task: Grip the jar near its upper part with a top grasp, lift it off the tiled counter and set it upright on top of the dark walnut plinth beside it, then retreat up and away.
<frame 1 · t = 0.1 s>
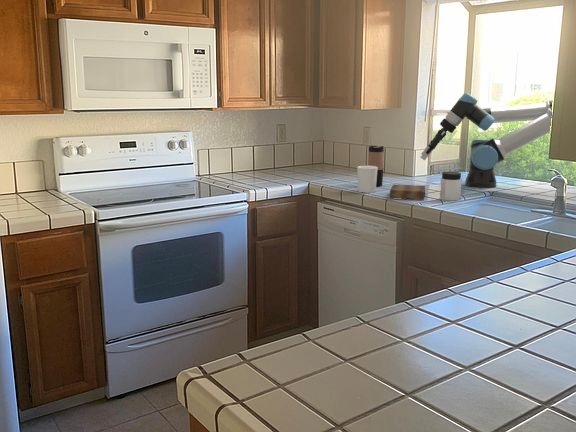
hand: (422, 157, 294), 15 cm above the counter, tool tilted 35°, fingers open, 13 cm apart
jar: (450, 199, 269), on the counter
travel mug: (375, 186, 303), on the counter
walnut plinth: (407, 196, 275), on the counter
candle holder: (366, 191, 288), on the counter
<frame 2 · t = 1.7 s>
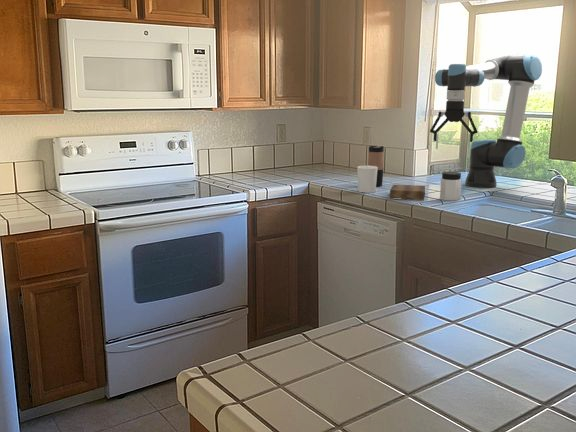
hand: (452, 149, 264), 23 cm above the counter, tool pointing down, fingers open, 13 cm apart
nothing on the counter moved.
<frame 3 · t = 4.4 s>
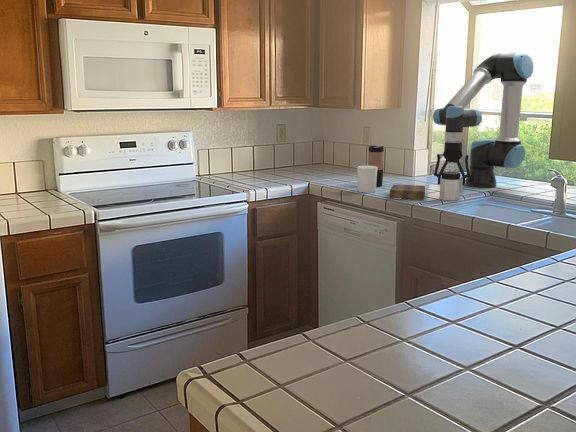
hand: (450, 191, 268), 3 cm above the counter, tool pointing down, fingers closed on jar, 8 cm apart
jar: (449, 199, 269), on the counter, touching gripper
everything else where it was.
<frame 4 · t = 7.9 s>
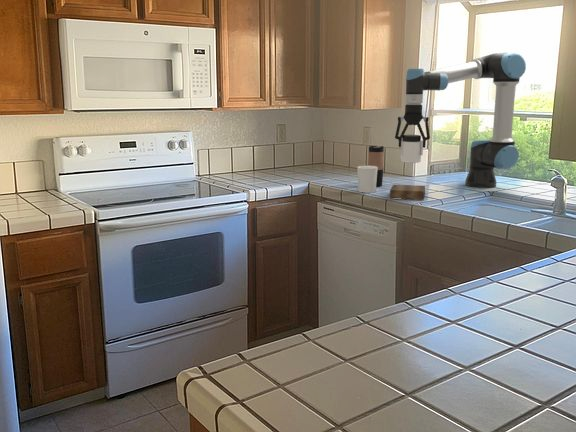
hand: (411, 154, 271), 19 cm above the counter, tool pointing down, fingers closed on jar, 8 cm apart
jar: (410, 162, 271), point 16 cm above the counter, touching gripper
everything else where it was.
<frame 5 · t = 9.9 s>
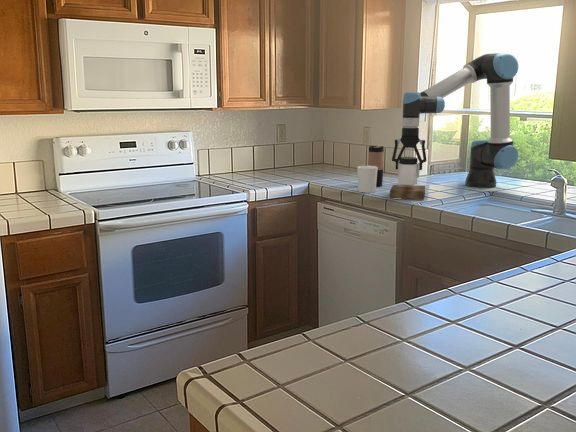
hand: (408, 176, 273), 9 cm above the counter, tool pointing down, fingers closed on jar, 8 cm apart
jar: (407, 184, 274), point 6 cm above the counter, touching gripper
everything else where it was.
when the fingers open (8 cm above the counter, at t = 11.4 s): jar stays where it is, resting on walnut plinth.
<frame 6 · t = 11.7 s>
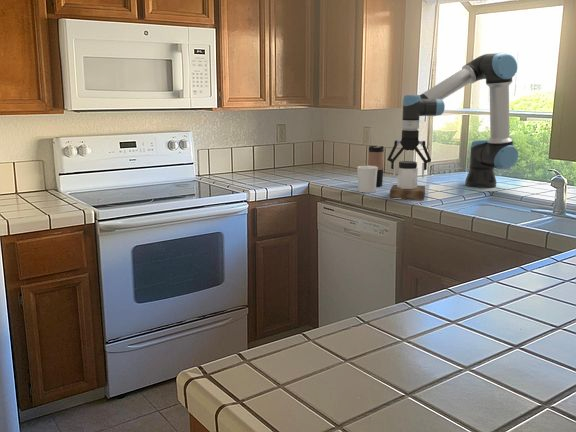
hand: (408, 176, 273), 9 cm above the counter, tool pointing down, fingers open, 12 cm apart
jar: (406, 188, 275), point 4 cm above the counter, touching walnut plinth
everything else where it was.
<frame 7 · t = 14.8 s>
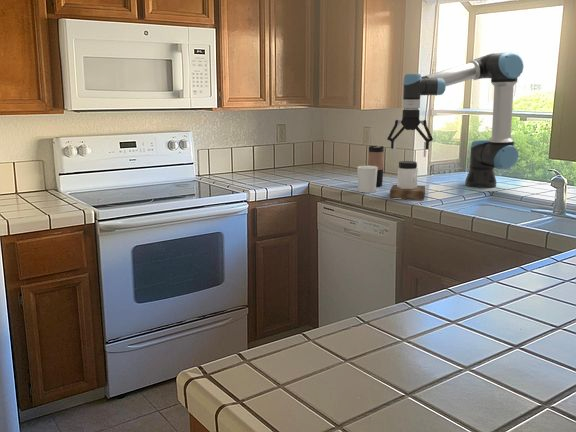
hand: (409, 156, 271), 19 cm above the counter, tool pointing down, fingers open, 13 cm apart
nothing on the counter moved.
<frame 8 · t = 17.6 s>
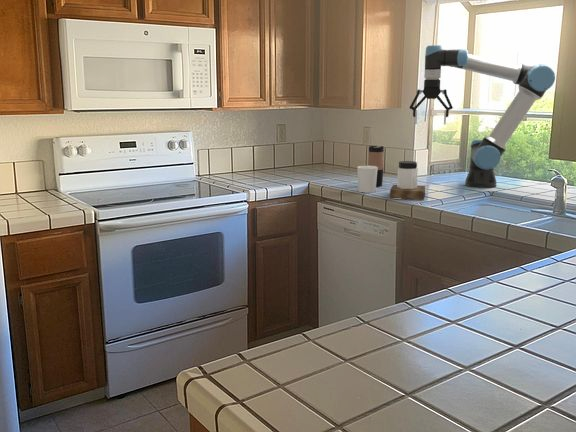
hand: (430, 124, 288), 32 cm above the counter, tool pointing down, fingers open, 13 cm apart
nothing on the counter moved.
at the end: jar inside the target area on the walnut plinth (0.5 cm from its centre), point 3.8 cm above the walnut plinth's base; jar tilted 0°; jar touching walnut plinth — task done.
